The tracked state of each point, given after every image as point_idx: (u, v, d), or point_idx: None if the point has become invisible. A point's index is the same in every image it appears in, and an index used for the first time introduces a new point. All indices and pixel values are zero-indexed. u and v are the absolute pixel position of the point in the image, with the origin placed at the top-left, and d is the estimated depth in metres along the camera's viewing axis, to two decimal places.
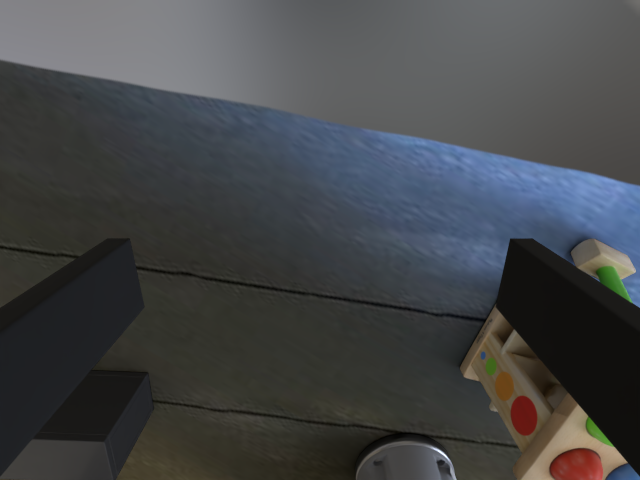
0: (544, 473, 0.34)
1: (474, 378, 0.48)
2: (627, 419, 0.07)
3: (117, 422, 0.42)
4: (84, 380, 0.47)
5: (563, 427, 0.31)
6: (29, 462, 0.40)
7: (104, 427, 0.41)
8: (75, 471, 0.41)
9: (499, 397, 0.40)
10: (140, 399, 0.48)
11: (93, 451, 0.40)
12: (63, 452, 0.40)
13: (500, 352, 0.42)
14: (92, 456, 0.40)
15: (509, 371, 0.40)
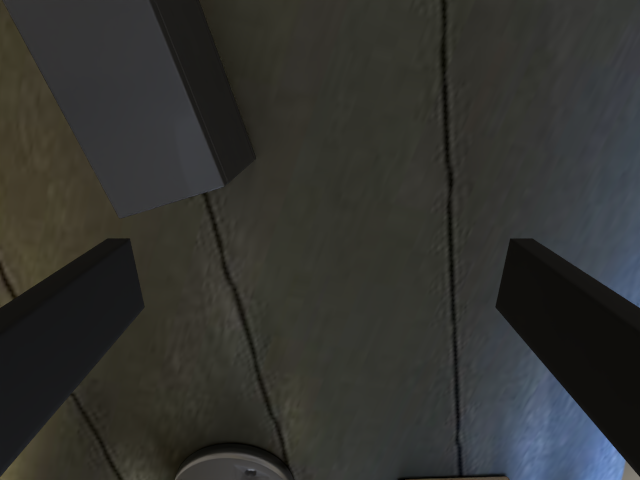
0: None
1: None
2: (627, 419, 0.07)
3: None
4: (215, 61, 0.26)
5: None
6: (85, 35, 0.18)
7: (226, 164, 0.22)
8: (112, 142, 0.19)
9: None
10: None
11: (189, 170, 0.20)
12: (157, 110, 0.19)
13: None
14: (175, 168, 0.20)
15: None
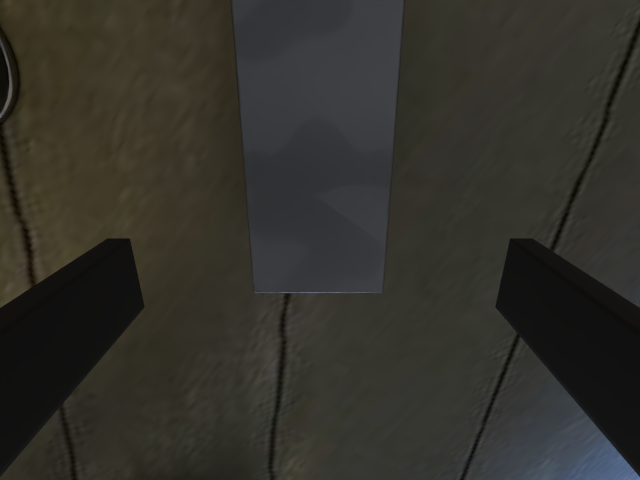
0: None
1: None
2: (627, 419, 0.07)
3: None
4: None
5: None
6: (311, 108, 0.15)
7: None
8: (285, 219, 0.17)
9: None
10: None
11: (354, 268, 0.18)
12: (350, 203, 0.17)
13: None
14: (340, 263, 0.18)
15: None
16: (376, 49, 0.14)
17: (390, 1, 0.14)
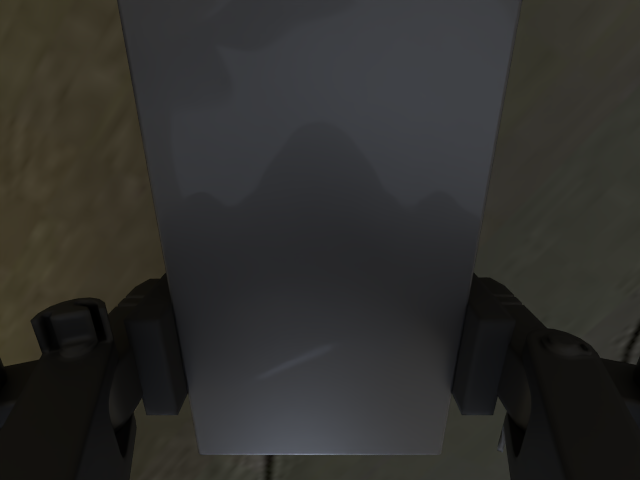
0: None
1: None
2: None
3: None
4: None
5: None
6: (303, 109, 0.06)
7: None
8: (252, 334, 0.08)
9: None
10: None
11: (388, 418, 0.09)
12: (387, 307, 0.08)
13: None
14: (362, 409, 0.09)
15: None
16: None
17: None
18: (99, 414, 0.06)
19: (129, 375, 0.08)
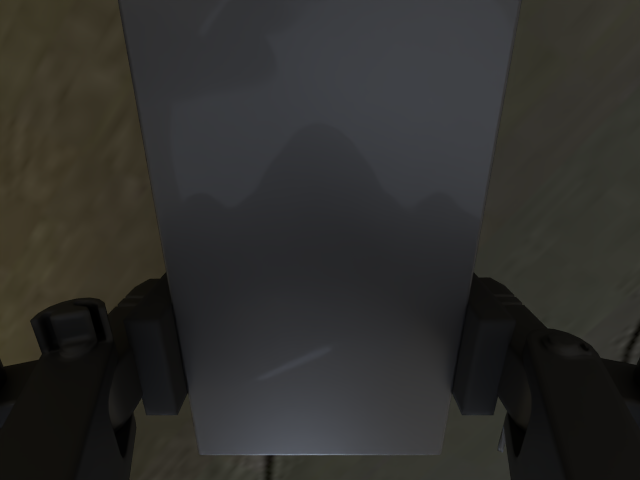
0: None
1: None
2: None
3: None
4: None
5: None
6: (303, 109, 0.07)
7: None
8: (253, 334, 0.08)
9: None
10: None
11: (388, 418, 0.09)
12: (387, 306, 0.08)
13: None
14: (362, 409, 0.09)
15: None
16: None
17: None
18: (99, 414, 0.06)
19: (129, 375, 0.08)
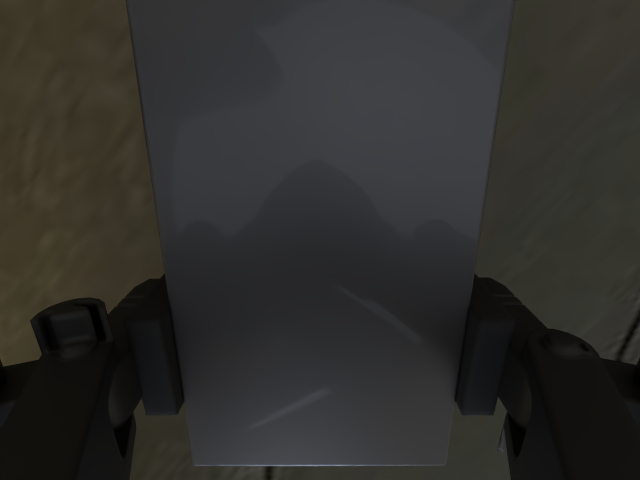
0: None
1: None
2: None
3: None
4: None
5: None
6: (304, 102, 0.07)
7: None
8: (251, 334, 0.08)
9: None
10: None
11: (391, 425, 0.09)
12: (388, 304, 0.08)
13: None
14: (363, 415, 0.09)
15: None
16: None
17: None
18: (99, 414, 0.06)
19: (129, 375, 0.08)
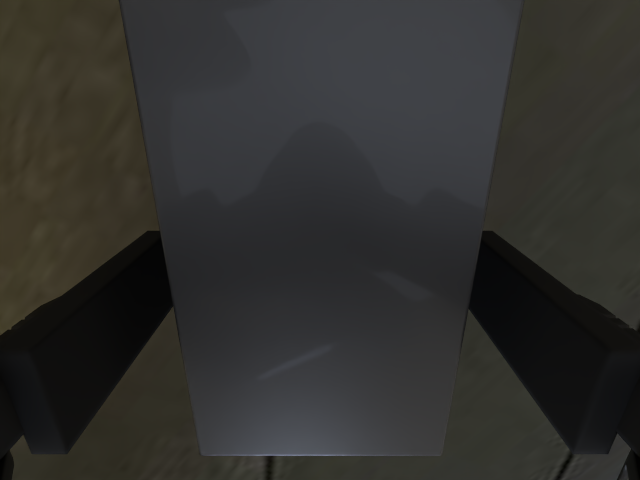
0: None
1: None
2: (556, 391, 0.08)
3: None
4: None
5: None
6: (305, 110, 0.06)
7: None
8: (254, 335, 0.08)
9: None
10: None
11: (389, 419, 0.09)
12: (388, 308, 0.08)
13: None
14: (363, 410, 0.09)
15: None
16: None
17: None
18: None
19: None
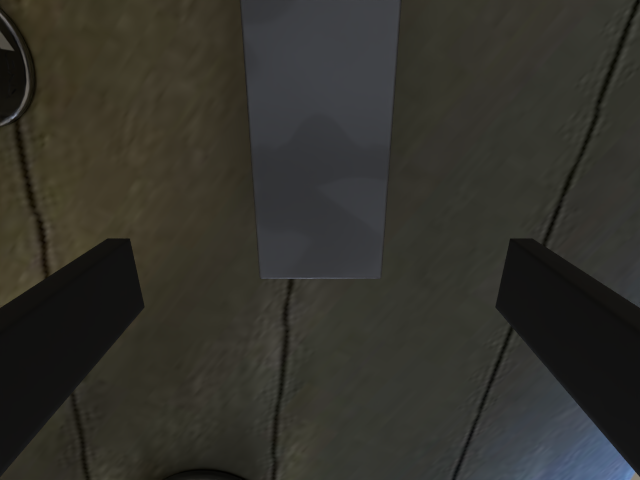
0: None
1: None
2: (627, 419, 0.07)
3: None
4: None
5: None
6: (314, 105, 0.16)
7: None
8: (289, 208, 0.18)
9: None
10: None
11: (354, 255, 0.19)
12: (350, 194, 0.18)
13: None
14: (340, 250, 0.19)
15: None
16: (374, 50, 0.15)
17: (387, 6, 0.15)
18: None
19: None
